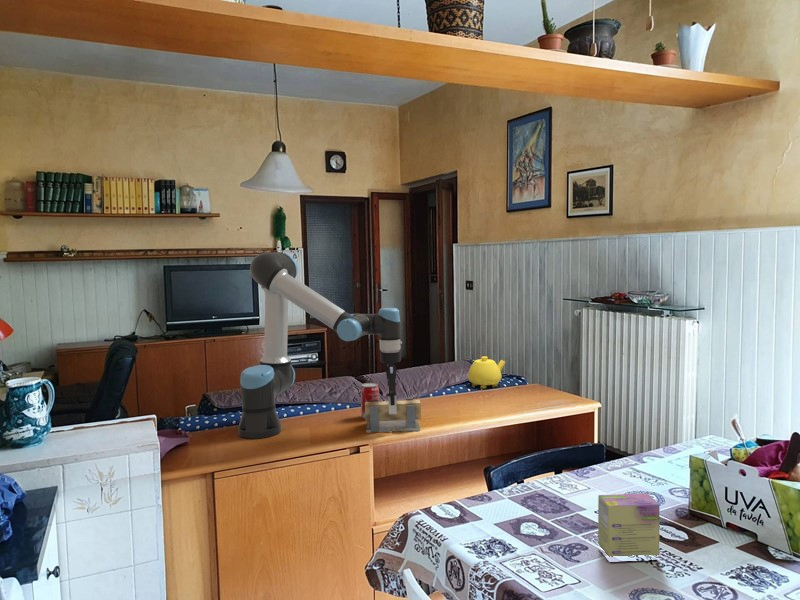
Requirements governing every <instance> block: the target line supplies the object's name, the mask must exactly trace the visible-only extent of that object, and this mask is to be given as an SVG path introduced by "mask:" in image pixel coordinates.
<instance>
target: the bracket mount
mask: <svg viewBox="0 0 800 600" xmlns="http://www.w3.org/2000/svg"><path fill="white" fill-rule="evenodd" d="M405 400H414V397H405V398H404V401H405ZM370 402H378V399H370ZM406 408H407V420H394V421H379V410H378V406H370V422H366V431H365V432H366V434H372V433H373V434H374V433H375V434H376V433H377V432H380V433H390V432H389V431H404V432H420V431H421V426H420V422H419V419H418V420H416V419H415V405H406Z"/></svg>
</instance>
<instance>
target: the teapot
mask: <svg viewBox="0 0 800 600" xmlns="http://www.w3.org/2000/svg"><path fill="white" fill-rule="evenodd" d="M505 364H506V361H505V360H503V359H501V360H500V361H499V362H498V363H496V361H495V360H493V359H490V358H489V359H488V356H485V355H484V356H481V357H480V359H475V360H474V361H473V362H472V364H471V366H470V368H469V369H468V375H467V379H468V380H469V382H471V384H472V385H471V386H472V387H474V386H475V387H476V386H480V389H482V390H483V389H487V386H491V387H495V388H497V387H499V385H498V383H499V382H500V381H501V380H502V378H503V377H502V369H503V368H504V366H505Z"/></svg>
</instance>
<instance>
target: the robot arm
mask: <svg viewBox="0 0 800 600" xmlns="http://www.w3.org/2000/svg"><path fill="white" fill-rule="evenodd" d="M249 267H250V268H249V271H250V275H251V277H252V279H253V280H254V281H255V282H256V283H257V284H258V285H260V286H261V287H260V289H262V291H264V296H265V298H264V337H263V338H264V340H263V342H264V344H263V345H264V346H263V347H264V348H263V350H264V352H263V356H261V358H260V359H259V365H253V366H249V367H247V368H245V369H244V370H242V371H241V374H240V382H239V383H240V395H241V411H242V412H241V417H240V420H239V424H238V428H237V432H238V433H237V435H238V436H239V437H240V438H243V439H250V440H251V439H264V438H269V437H273V436H276V435H278V434H280V433H281V432H282V422H281V420H280V419H279V415H278V413H277V410H276V397H277V396H279V395H281V394H283V393H286V392H287V391H288V390H289V389H290V388H291V387H292V386H293V384H294V382H295V381H296V380H295V379H296V371H295V369H294V367H293V366H292V359H291V357H289V356H288V337H289V336H288V333H289V332H288V329H289V327H288V326H289V302H291V303H292V304H294V305H295V306H297V307H298V308H300V309H301V310H302V311H304V312H306V313H308V314H309V315H311V317H314V319H316V320H318V321H320V322H321V323H323V324H324V325H325V326H328V327H329V328H330V329H332V330H333V331H335V332H336V334H337V336H338V338H340V340H343V341H344V342H351V341H357V339H359V338H362V337H363V336H365V335H366V336H367V335H373V336H374V335H378V336H379V350H380V352H379V359H380V362H381V363H382V364H387V365H386V366H385V374H386V375H385V376H386V380H387V393H386V397H387V401H389V414H397V408H396V401H397V391H396V390H397V388H396V387H397V382H396V379H397V373H398V372H397V371H398V370H397V365H395V363H396V364H397V363H400V362H401V361H402V352H401V347H402V346H401V345H403V341H401V317H400V310H399V309H398V308H396V307H383V308H380V309H379V310H378V312H377V313H349V312H346V311H345V310H344V309H343V308H341V307H339V306H338V305H336V304H335V303H333V302H332V301H330V300H328V298H326V297H325V296H322V295H321V294H320V293H319V292H316V291H315V290H314V289H312V288H310V286H307V285H306V284H305V283H303V282H301V281H299V280H298V279H296V277H297V276H298V272H299V271H298V270H299V269H298V268H299V267H298V263H297V262H296V260H295V258H294V257H292V256H291V255H290V254H288V253H285V252H280V251H278V252H275V251H274V252H262V253H259V254H257V255H256V256H255V257H254V258H253V259H252V261H251V263H250V266H249Z"/></svg>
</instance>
